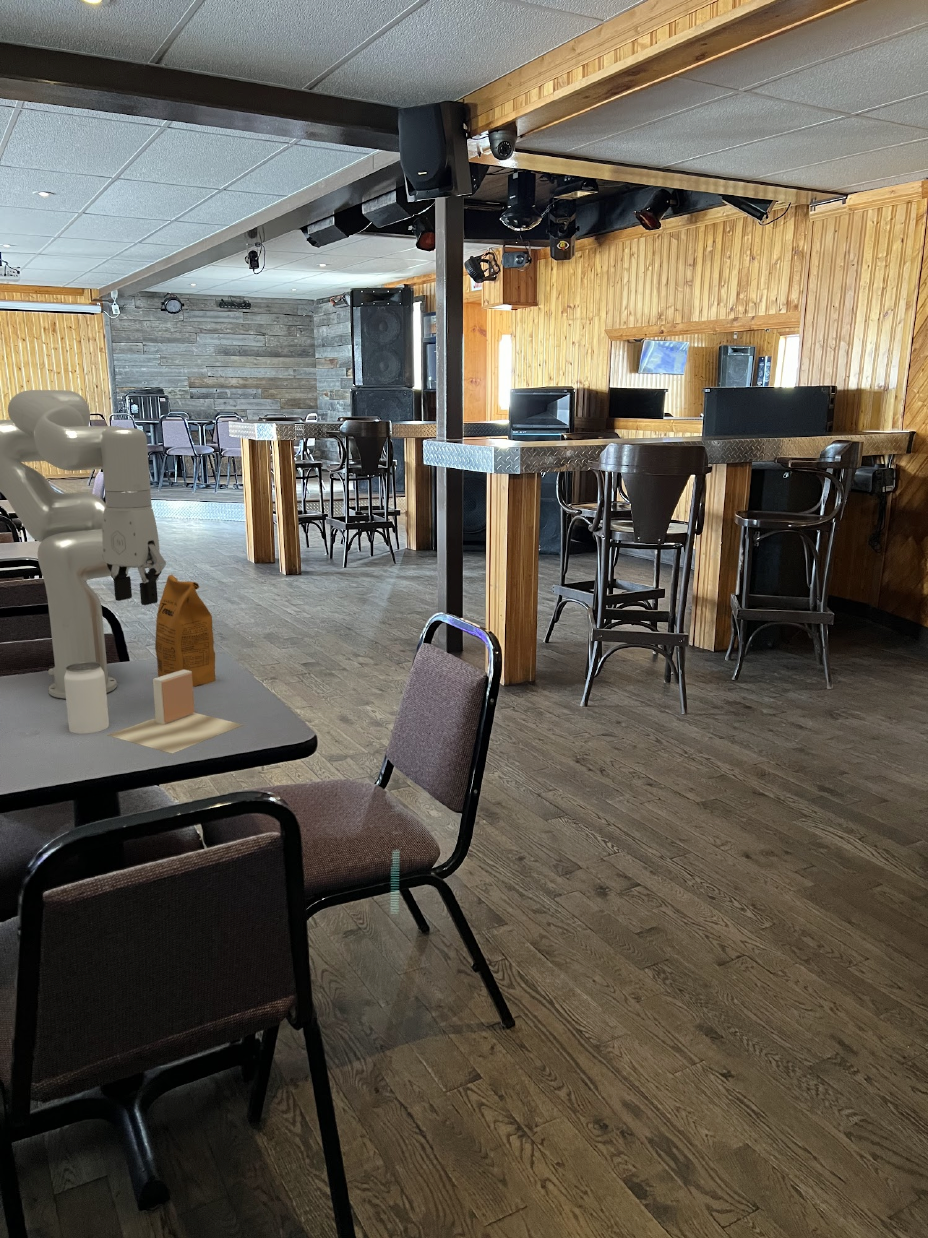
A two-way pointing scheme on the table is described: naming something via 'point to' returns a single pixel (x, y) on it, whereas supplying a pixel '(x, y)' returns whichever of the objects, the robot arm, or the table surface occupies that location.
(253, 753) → the table surface
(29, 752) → the table surface
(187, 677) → the tile
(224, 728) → the cloth
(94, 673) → the can
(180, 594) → the coffee package
